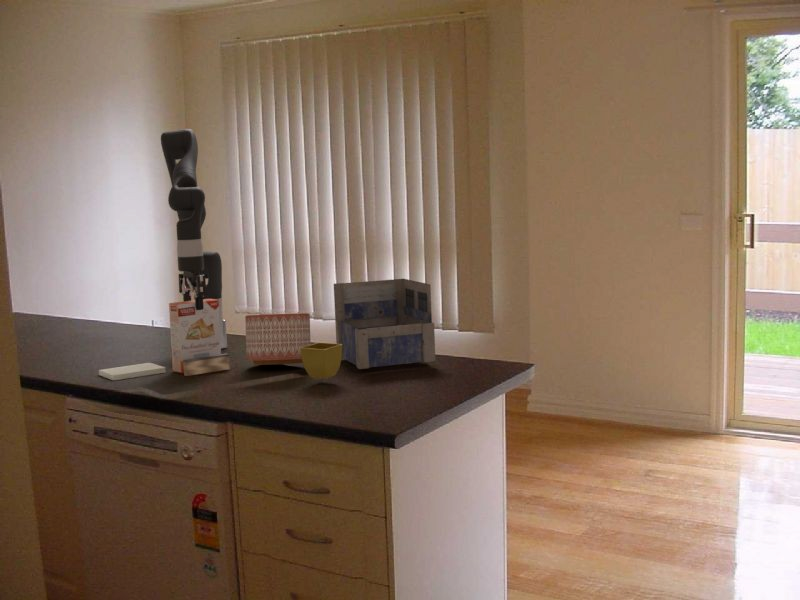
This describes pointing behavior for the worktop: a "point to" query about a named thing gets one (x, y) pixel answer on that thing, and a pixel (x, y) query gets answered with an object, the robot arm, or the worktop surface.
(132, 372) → the plate
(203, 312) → the cracker box
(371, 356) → the building
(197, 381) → the worktop surface
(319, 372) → the flower pot
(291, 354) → the planter
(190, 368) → the tear rail
